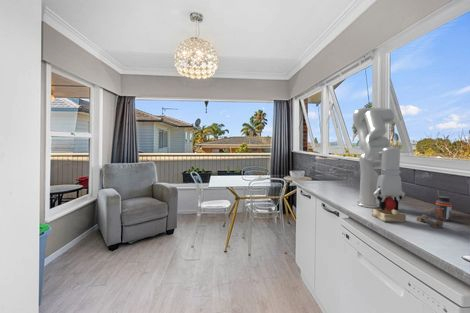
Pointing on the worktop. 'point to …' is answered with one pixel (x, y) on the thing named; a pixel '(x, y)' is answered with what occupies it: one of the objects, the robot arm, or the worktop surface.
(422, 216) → the clip
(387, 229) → the worktop surface
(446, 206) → the supplement bottle
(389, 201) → the onion
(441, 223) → the clip
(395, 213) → the wooden tray
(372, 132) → the robot arm
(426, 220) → the gray square bar
